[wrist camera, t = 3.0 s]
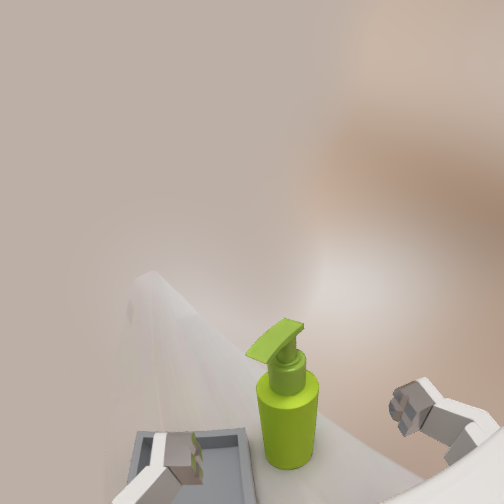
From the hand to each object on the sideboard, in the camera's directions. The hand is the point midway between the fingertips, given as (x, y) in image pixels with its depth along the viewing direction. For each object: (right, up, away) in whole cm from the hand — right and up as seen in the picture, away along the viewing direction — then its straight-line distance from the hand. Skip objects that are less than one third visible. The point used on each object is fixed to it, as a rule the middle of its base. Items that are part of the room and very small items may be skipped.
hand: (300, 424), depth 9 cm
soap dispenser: (+2, -19, +19) cm, 26 cm away
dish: (-9, -21, +14) cm, 27 cm away
